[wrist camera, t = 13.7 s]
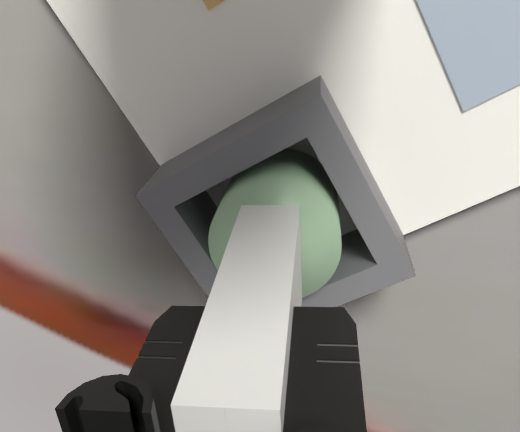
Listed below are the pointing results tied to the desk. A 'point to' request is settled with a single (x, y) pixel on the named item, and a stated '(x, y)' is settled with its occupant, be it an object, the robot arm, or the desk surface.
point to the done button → (287, 193)
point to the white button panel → (315, 111)
